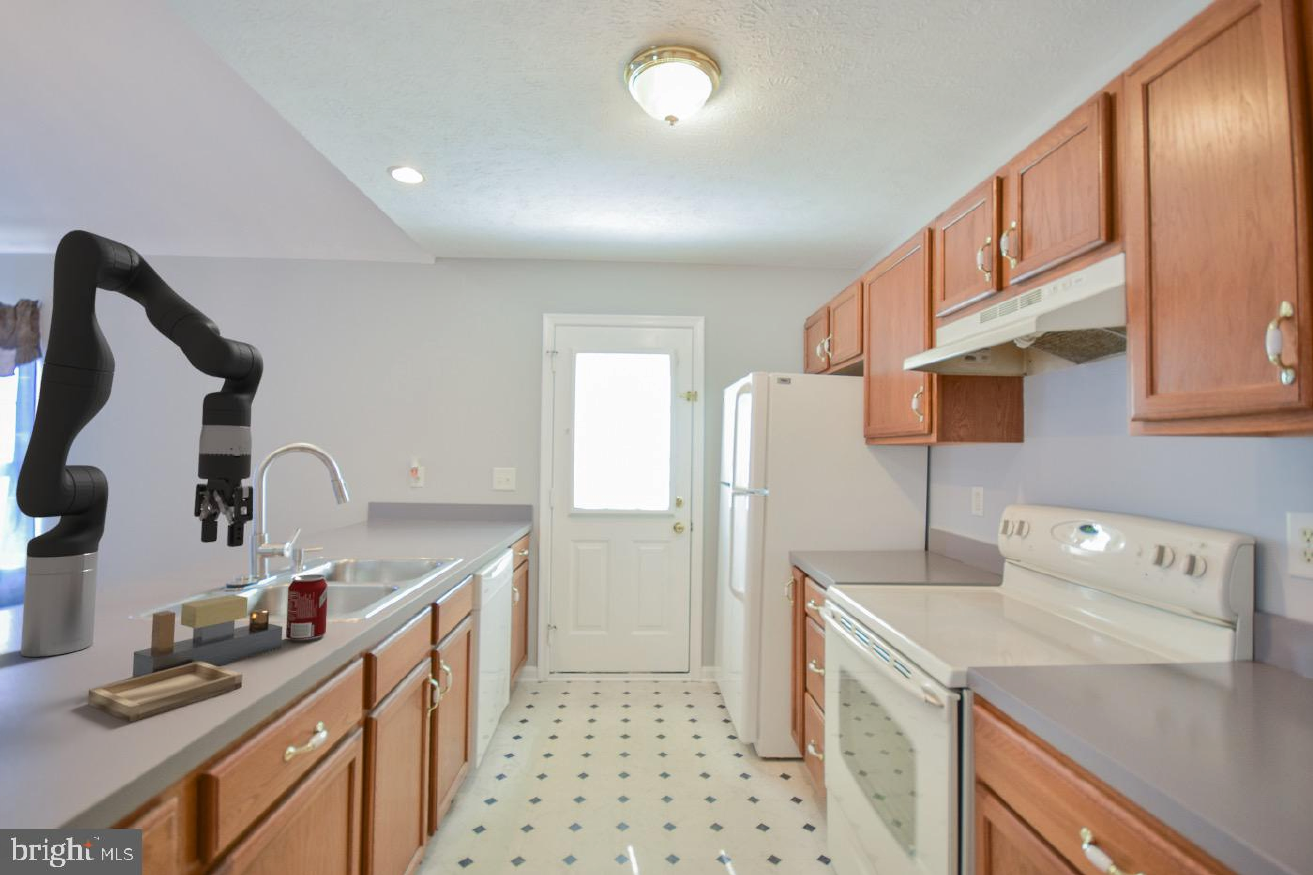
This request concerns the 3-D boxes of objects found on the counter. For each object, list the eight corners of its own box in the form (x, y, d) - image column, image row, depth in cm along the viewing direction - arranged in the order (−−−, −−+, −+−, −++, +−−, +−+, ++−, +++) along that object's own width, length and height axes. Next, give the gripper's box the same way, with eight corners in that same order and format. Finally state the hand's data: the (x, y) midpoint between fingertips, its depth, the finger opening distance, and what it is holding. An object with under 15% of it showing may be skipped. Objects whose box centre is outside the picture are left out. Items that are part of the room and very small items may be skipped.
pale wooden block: (180, 624, 100) (181, 603, 100) (232, 613, 107) (233, 594, 108) (195, 628, 98) (196, 607, 98) (246, 617, 105) (247, 597, 106)
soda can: (312, 644, 113) (315, 581, 113) (277, 643, 113) (280, 580, 114) (332, 633, 120) (335, 574, 120) (299, 632, 120) (302, 573, 120)
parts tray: (88, 703, 85) (88, 689, 85) (199, 673, 97) (199, 660, 97) (129, 722, 79) (130, 707, 79) (241, 687, 92) (242, 674, 92)
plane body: (151, 684, 92) (155, 619, 93) (132, 676, 95) (135, 614, 95) (281, 648, 110) (283, 594, 111) (262, 643, 113) (264, 590, 113)
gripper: (180, 451, 104) (176, 543, 104) (223, 452, 98) (219, 550, 97) (227, 451, 111) (223, 538, 110) (271, 452, 104) (267, 545, 104)
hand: (221, 544), depth 104 cm, fingers open, 8 cm apart
